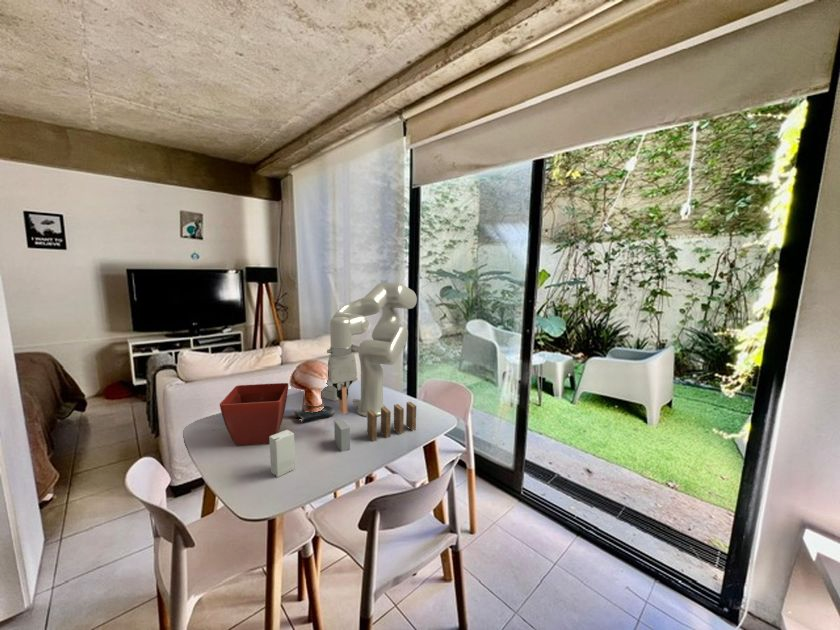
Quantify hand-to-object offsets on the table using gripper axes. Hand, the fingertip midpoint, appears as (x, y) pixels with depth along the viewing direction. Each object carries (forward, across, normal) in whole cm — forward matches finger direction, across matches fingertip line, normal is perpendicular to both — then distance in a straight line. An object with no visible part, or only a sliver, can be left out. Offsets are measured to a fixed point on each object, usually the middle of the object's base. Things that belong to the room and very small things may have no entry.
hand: (342, 397), depth 130 cm
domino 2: (+14, +13, -10) cm, 21 cm away
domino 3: (+14, +19, -10) cm, 25 cm away
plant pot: (+13, -29, +11) cm, 33 cm away
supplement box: (+15, +8, +36) cm, 39 cm away
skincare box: (+13, -24, -16) cm, 32 cm away
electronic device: (+14, -6, +18) cm, 24 cm away
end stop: (+13, -4, -10) cm, 17 cm away
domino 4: (+14, +24, -10) cm, 30 cm away
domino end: (+5, 0, 0) cm, 5 cm away
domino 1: (+14, +8, -10) cm, 18 cm away
